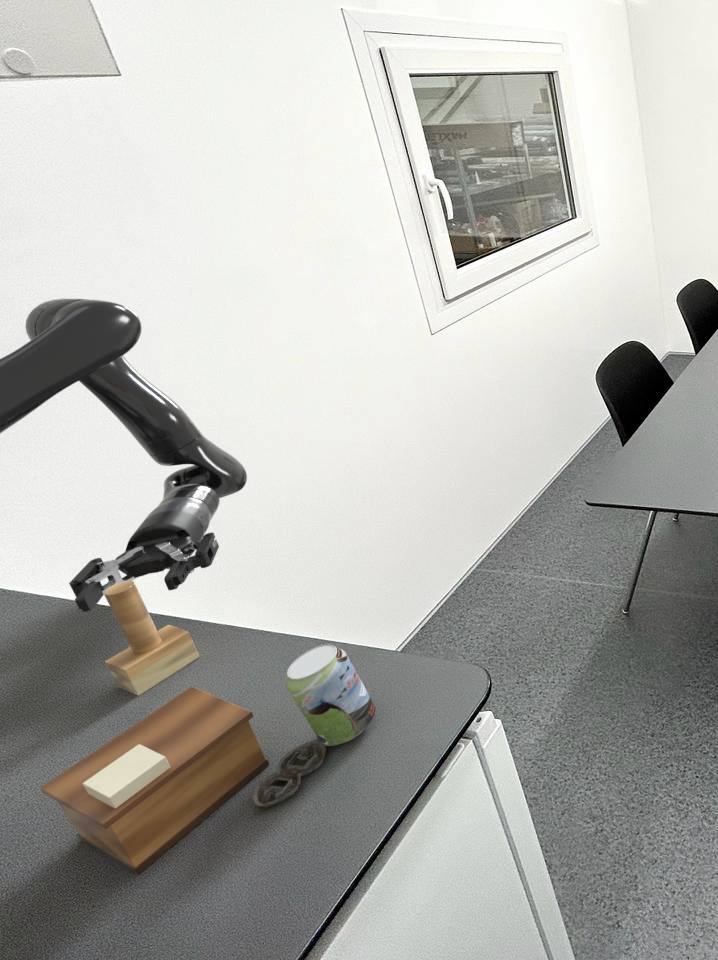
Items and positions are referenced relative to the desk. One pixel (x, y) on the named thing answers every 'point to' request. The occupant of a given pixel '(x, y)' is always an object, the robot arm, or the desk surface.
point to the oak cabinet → (164, 778)
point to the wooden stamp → (145, 643)
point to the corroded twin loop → (289, 774)
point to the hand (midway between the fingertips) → (128, 595)
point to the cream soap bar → (126, 776)
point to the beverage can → (330, 694)
